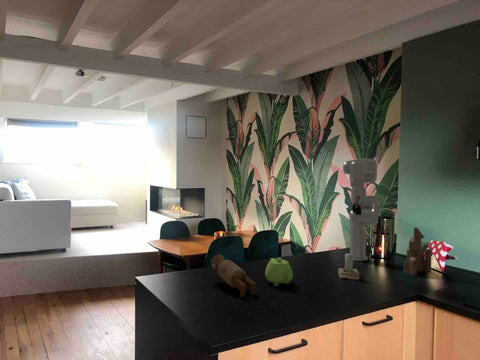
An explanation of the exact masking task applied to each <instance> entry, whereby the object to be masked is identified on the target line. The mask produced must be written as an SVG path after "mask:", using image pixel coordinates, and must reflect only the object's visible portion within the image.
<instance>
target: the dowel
mask: <svg viewBox="0 0 480 360" xmlns="http://www.w3.org/2000/svg"><path fill="white" fill-rule="evenodd" d="M353 263H354V260H353V254H350V252H349V253H344V268H345V272H353V269H354V268H353V267H354V266H353V265H354V264H353Z"/></svg>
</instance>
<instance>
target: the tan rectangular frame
mask: <svg viewBox="0 0 480 360" xmlns="http://www.w3.org/2000/svg"><path fill="white" fill-rule="evenodd" d="M337 272H338V276H339V279H341V278H348V279H347V280H360V272H359V271H358V269H357V268H353V272H345V267H344V268H341V267H340V268H338V271H337Z"/></svg>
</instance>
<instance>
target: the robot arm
mask: <svg viewBox="0 0 480 360" xmlns="http://www.w3.org/2000/svg"><path fill="white" fill-rule="evenodd" d="M342 172H343V173H344V174H345V175H349V177H348V178H349V182H350V187H351V194H350V203H352V205H351V207H352V209H351V210H350V211H349V215H348V218H349V230H350V231H349V235H350V237H349V238H350V241H349V254H353V261H355V262H356V261H357V262H360V261H361V262H364V261H368V260H369V257H368V256H366V249H367V248H366V247H367V246H366V242H367V233H366V232H367V231H366V229H365V227H363V225H364V226H365V225H366V226H376V225H378V223H379V199H378V197H377V196H375V195H367V190H366V188H365V183H367V184H369V183H371V184H375V183H376V181H377V180H378V179H377V178H378V164H377V161H376V159H374V158H357V159H352V160H345V161H344V163H343V165H342Z"/></svg>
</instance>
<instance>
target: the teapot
mask: <svg viewBox="0 0 480 360" xmlns="http://www.w3.org/2000/svg"><path fill="white" fill-rule="evenodd" d="M266 265H267V266H266V268H265V272H264V274H265V275H264V276H265V278H266V280H267V281H268V283H273V284H272V285H273V286H275V287H278V286H279V284H283V285H286V284H289V285H290V282H291V281H292V280H293V278H294V273H293V270H292V266H291V265H290V262H288V261H287V260H285V259H282V257H277V258H274V257H273V258H270V260H269V261H268V263H267V264H266Z"/></svg>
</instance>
